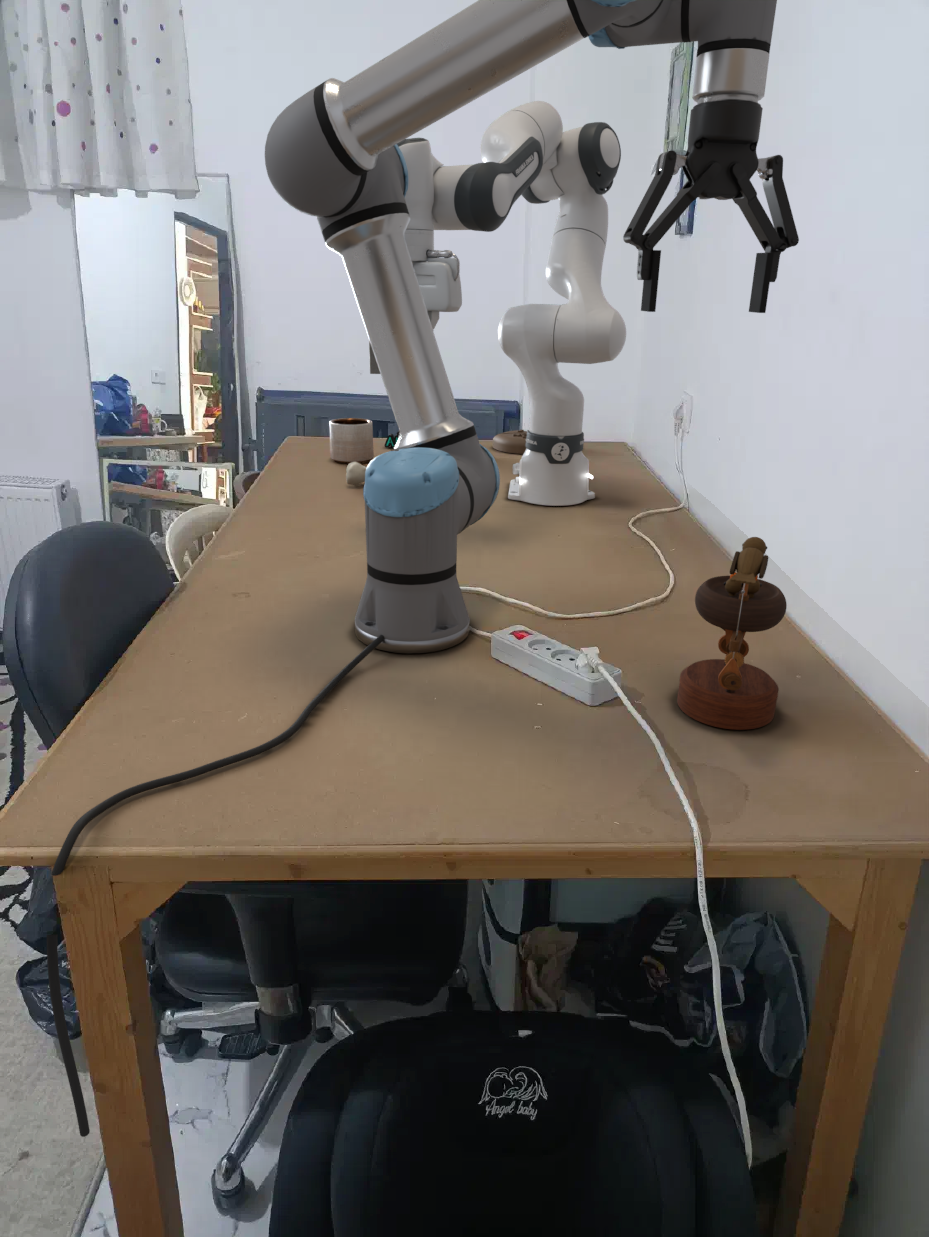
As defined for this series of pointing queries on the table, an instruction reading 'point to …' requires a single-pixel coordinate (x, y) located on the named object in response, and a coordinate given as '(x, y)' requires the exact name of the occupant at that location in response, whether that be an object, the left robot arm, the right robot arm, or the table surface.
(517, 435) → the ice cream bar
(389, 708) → the table surface
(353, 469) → the dog toy
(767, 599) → the music box
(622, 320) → the right robot arm
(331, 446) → the planter
